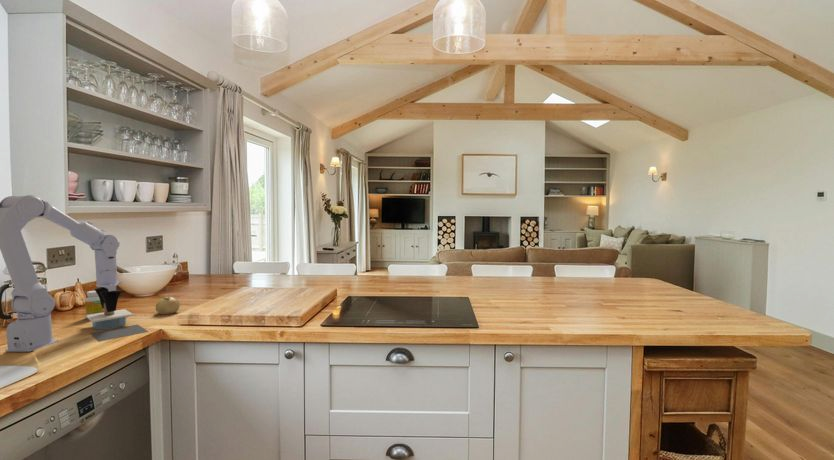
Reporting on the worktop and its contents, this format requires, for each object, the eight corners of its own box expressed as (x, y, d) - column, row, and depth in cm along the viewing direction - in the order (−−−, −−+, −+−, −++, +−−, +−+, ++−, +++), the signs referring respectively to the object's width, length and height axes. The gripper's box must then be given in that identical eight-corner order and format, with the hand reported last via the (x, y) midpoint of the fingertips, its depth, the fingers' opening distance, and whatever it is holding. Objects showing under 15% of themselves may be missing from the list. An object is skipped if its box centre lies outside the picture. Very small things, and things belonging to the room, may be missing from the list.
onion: (150, 316, 157) (149, 297, 157) (168, 310, 165) (167, 292, 164) (167, 317, 155) (166, 298, 154) (185, 311, 162) (184, 293, 162)
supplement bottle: (94, 319, 153) (92, 293, 153) (82, 319, 155) (80, 292, 154) (108, 315, 159) (106, 290, 158) (96, 315, 160) (94, 289, 159)
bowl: (111, 330, 139) (111, 319, 138) (86, 330, 139) (85, 319, 139) (132, 322, 148) (131, 312, 147) (108, 322, 148) (107, 313, 148)
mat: (148, 332, 135) (148, 331, 135) (98, 342, 126) (98, 341, 126) (137, 325, 144) (137, 324, 144) (90, 334, 134) (90, 333, 134)
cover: (132, 315, 144) (132, 302, 143) (92, 322, 136) (91, 308, 135) (124, 310, 151) (123, 297, 151) (86, 316, 143) (85, 303, 143)
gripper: (125, 270, 140) (128, 310, 141) (115, 266, 150) (117, 304, 151) (99, 273, 135) (102, 314, 136) (90, 269, 145) (93, 308, 146)
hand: (108, 309), depth 143 cm, fingers open, 7 cm apart
